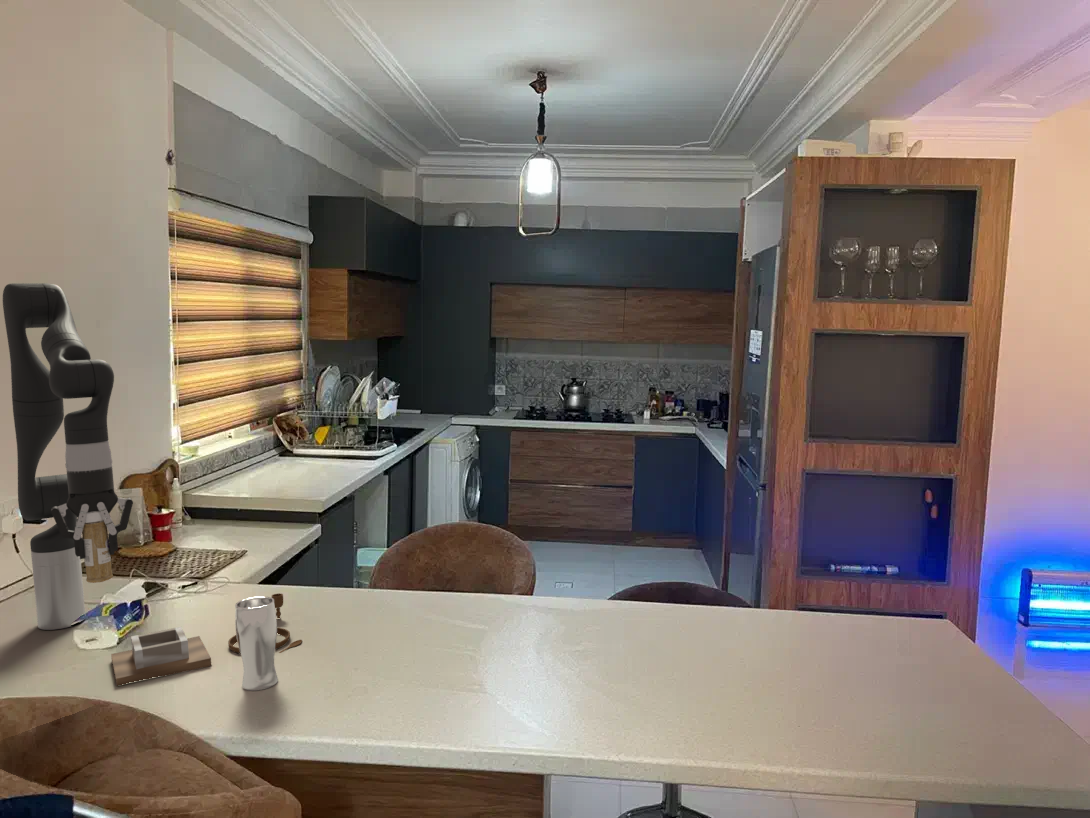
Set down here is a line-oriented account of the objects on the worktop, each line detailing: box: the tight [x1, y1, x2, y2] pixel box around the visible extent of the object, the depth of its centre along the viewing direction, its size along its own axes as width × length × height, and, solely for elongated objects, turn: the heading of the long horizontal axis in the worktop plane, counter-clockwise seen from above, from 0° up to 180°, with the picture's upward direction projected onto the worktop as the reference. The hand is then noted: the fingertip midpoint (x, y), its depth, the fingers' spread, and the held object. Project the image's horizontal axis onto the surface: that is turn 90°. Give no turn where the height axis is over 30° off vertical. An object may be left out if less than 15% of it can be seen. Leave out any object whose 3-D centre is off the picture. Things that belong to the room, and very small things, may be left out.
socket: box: [110, 626, 212, 687], centre depth 157 cm, size 14×16×5 cm
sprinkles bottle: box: [81, 511, 114, 584], centre depth 154 cm, size 5×5×13 cm
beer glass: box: [234, 595, 279, 692], centre depth 145 cm, size 7×7×15 cm
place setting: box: [227, 592, 303, 654], centre depth 169 cm, size 18×20×6 cm
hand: (97, 555), depth 154 cm, fingers closed on sprinkles bottle, 4 cm apart
